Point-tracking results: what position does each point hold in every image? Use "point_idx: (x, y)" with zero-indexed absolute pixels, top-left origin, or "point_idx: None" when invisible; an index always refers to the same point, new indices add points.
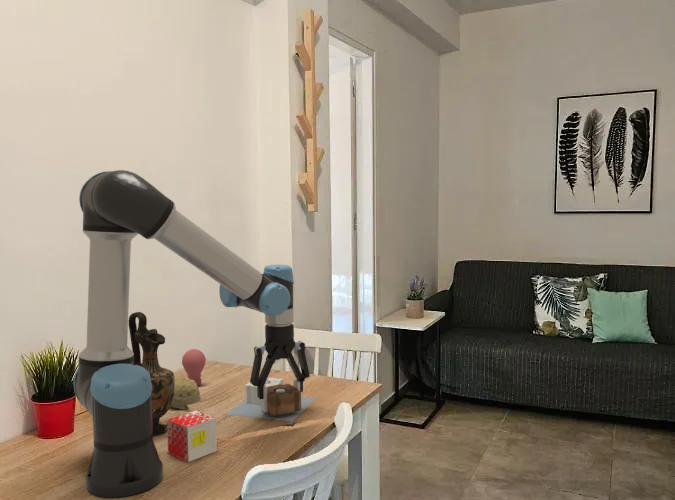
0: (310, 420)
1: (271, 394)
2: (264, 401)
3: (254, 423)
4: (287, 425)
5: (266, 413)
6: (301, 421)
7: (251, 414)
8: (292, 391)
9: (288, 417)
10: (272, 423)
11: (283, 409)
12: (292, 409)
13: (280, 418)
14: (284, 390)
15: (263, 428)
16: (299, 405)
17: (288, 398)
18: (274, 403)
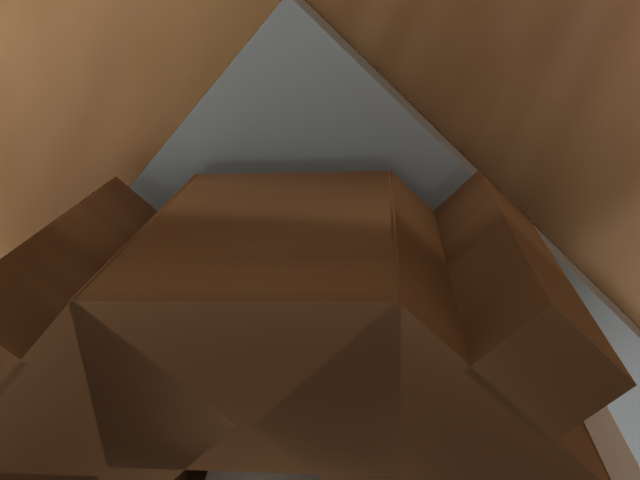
0: (44, 96)
1: (543, 461)
2: (615, 425)
3: (632, 301)
4: (346, 42)
5: None
6: (147, 115)
7: (632, 433)
8: (67, 413)
9: (289, 149)
10: None
11: (349, 190)
12: (205, 187)
13: (393, 167)
14: None
15: (625, 118)
16: (77, 207)
17: (222, 261)
18: (525, 243)
